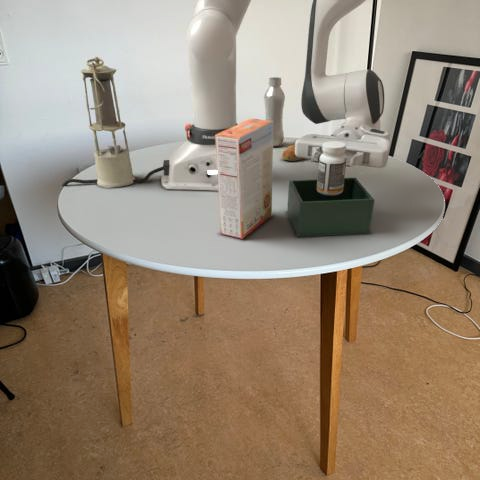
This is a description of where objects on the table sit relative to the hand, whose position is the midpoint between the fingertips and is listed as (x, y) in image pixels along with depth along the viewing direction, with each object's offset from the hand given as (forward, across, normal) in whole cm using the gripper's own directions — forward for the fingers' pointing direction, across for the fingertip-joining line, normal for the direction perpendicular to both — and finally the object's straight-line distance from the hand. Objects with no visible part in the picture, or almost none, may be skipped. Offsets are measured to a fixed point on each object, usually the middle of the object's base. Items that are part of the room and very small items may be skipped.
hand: (331, 160), depth 94 cm
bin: (-1, 0, +14) cm, 14 cm away
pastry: (-43, -23, +14) cm, 50 cm away
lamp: (-2, -60, +14) cm, 62 cm away
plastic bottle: (-52, -34, +14) cm, 64 cm away
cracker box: (+8, -16, +14) cm, 23 cm away
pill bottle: (-1, 0, +7) cm, 7 cm away
